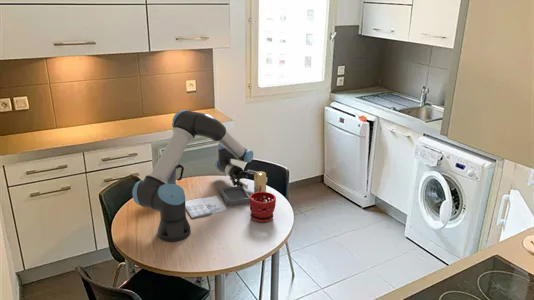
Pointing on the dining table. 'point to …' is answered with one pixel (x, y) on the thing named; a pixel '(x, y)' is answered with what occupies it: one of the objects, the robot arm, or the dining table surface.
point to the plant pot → (262, 206)
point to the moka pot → (173, 175)
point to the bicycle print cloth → (204, 206)
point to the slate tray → (235, 196)
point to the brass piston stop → (260, 183)
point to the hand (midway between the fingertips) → (257, 183)
